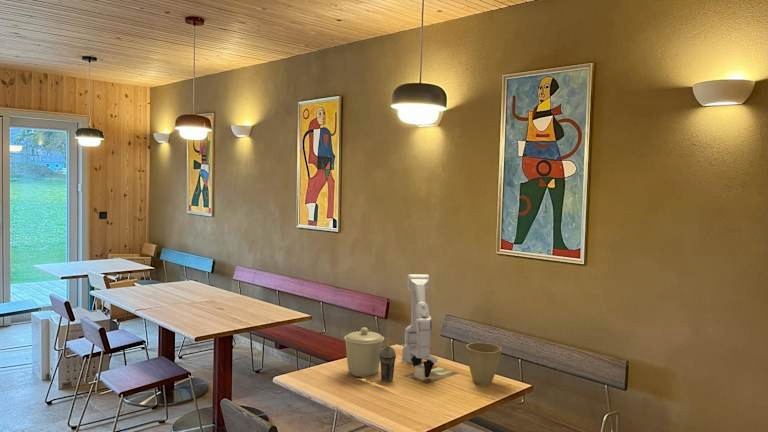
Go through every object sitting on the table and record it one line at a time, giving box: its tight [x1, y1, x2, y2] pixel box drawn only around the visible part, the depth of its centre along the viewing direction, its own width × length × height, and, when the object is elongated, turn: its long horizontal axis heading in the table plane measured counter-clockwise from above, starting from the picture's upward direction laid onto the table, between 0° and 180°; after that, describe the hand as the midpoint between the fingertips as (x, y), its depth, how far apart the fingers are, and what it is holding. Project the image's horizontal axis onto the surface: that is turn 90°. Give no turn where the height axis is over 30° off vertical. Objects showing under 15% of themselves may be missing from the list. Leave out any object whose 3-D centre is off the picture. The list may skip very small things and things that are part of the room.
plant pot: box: [466, 342, 502, 387], centre depth 242 cm, size 15×15×16 cm
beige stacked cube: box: [414, 363, 431, 380], centre depth 244 cm, size 5×5×5 cm
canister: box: [343, 326, 385, 378], centre depth 250 cm, size 18×18×21 cm
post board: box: [403, 365, 459, 385], centre depth 249 cm, size 14×22×5 cm, turn 135°
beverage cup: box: [379, 336, 397, 383], centre depth 240 cm, size 7×7×20 cm
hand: (422, 375), depth 244 cm, fingers closed on beige stacked cube, 5 cm apart
